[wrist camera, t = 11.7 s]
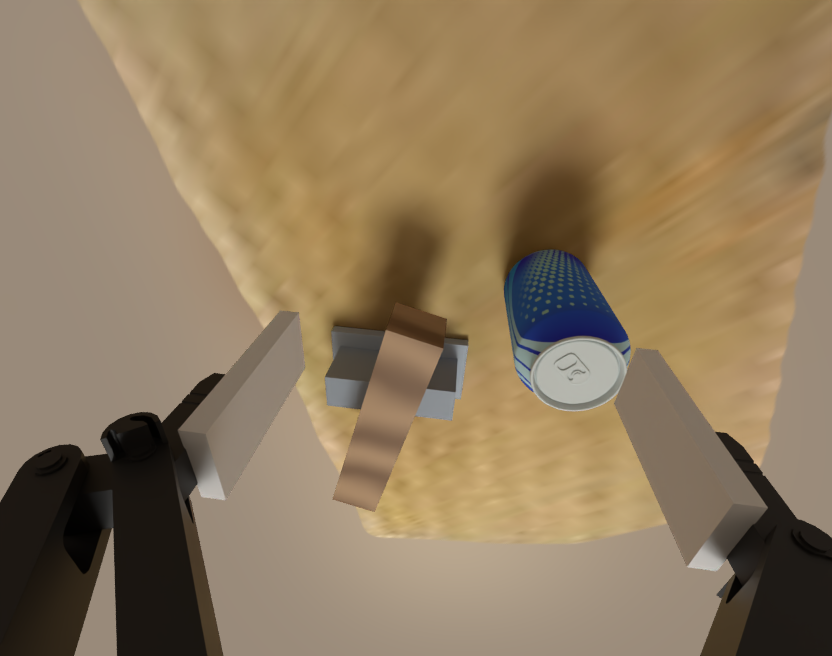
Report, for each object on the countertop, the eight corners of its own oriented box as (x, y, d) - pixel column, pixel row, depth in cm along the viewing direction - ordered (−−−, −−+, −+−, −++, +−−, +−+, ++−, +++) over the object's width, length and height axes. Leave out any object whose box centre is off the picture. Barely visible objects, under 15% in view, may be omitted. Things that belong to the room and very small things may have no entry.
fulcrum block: (334, 325, 48) (314, 360, 42) (468, 340, 47) (467, 378, 41) (337, 378, 52) (319, 417, 46) (460, 393, 51) (459, 434, 45)
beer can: (592, 243, 40) (654, 326, 26) (580, 318, 44) (628, 422, 30) (504, 245, 41) (520, 325, 27) (501, 318, 45) (514, 418, 31)
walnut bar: (395, 302, 37) (385, 329, 33) (446, 319, 38) (443, 348, 33) (344, 464, 50) (332, 499, 46) (382, 475, 50) (374, 511, 46)
